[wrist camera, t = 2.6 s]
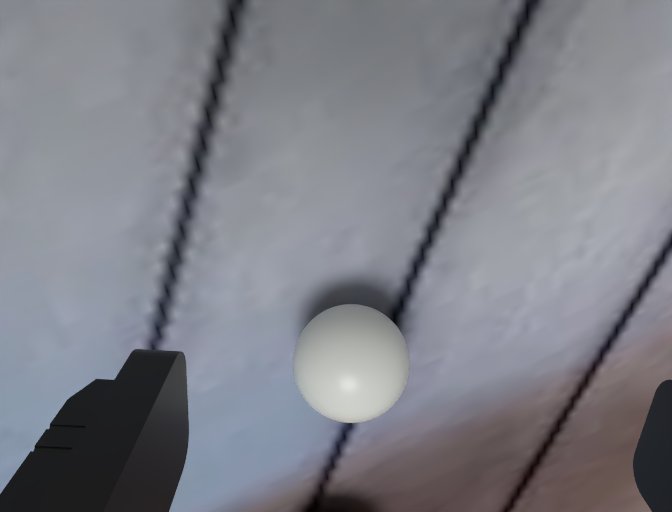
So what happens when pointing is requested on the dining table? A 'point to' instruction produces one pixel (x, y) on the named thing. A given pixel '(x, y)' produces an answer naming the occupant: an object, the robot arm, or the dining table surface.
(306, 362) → the cue ball
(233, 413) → the dining table surface
